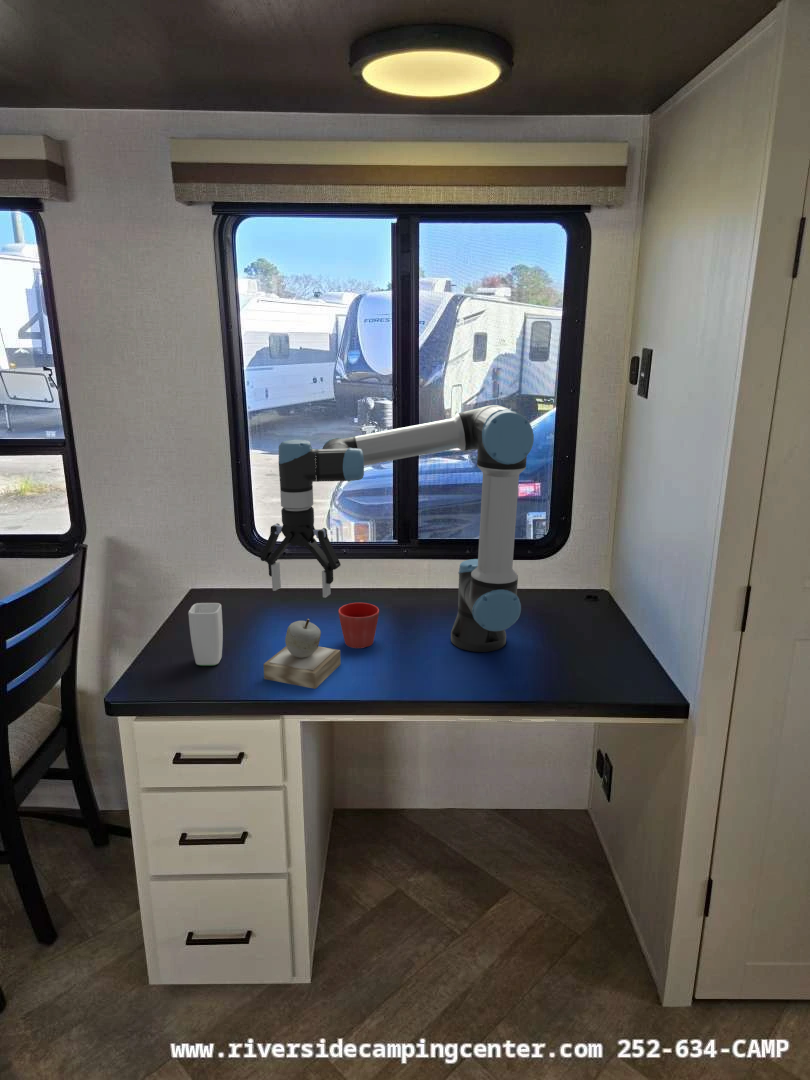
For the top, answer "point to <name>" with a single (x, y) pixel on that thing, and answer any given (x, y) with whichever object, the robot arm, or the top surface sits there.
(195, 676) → the top surface
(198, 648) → the cup
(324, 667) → the plinth
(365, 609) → the flower pot
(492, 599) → the robot arm
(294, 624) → the decorative object
